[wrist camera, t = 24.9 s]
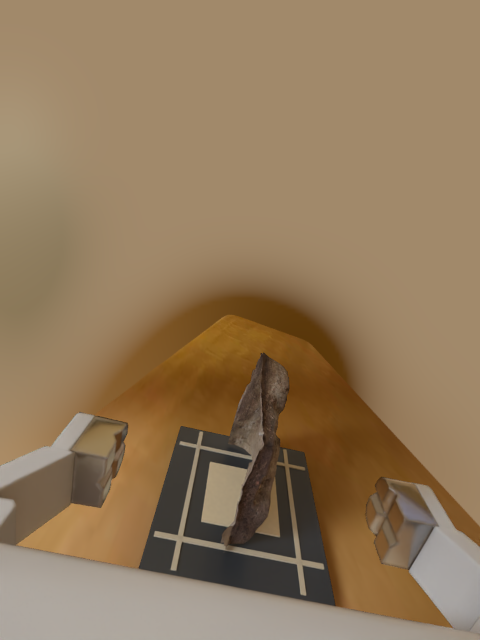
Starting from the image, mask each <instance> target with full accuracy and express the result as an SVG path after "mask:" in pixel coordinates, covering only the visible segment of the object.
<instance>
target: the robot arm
mask: <svg viewBox="0 0 480 640" xmlns="http://www.w3.org/2000/svg"><path fill="white" fill-rule="evenodd" d="M127 431H128V423H126V422H122V421H117V420H113V419H109V418H105V417H100V416H95V415H90V414H86V413H82V412H79V413H77V414H76V415H75V416H74V417H73V419H72V420H71V421H70V423H69V424H68V425H67V426H66V428H65V429H64V430H63V431H62V433H61V434H60V435H59V437H58V438H57V439H56V440H55V442H54V443H53V444H52V445H51V447H48V446H44V447H42V448H39V449H37V450H35V451H33V452H30V453H28V454H26V455H24V456H22V457H19V458H17V459H14V460H12V461H10V462H7V463H5V464H3V465H1V466H0V640H480V547H479V546H478V545H477V544H476V543H474V542H473V541H472V540H471V539H470V538H469V537H467V536H466V535H465V534H464V533H463V532H461V531H457V530H456V528H455V527H454V525H453V524H452V522H451V520H450V519H449V517H448V515H447V514H446V512H445V510H444V509H443V507H442V506H441V504H440V502H439V501H438V499H437V497H436V496H435V494H434V492H433V491H432V489H431V488H430V487H428V486H427V485H422V484H417V483H409V482H404V481H400V480H395V479H390V478H385V477H381V478H380V479H378V481H377V483H376V485H375V488H376V491H377V492H376V493H375V494H373V495H371V496H370V497H369V499H368V502H367V504H366V521H367V524H368V527H369V529H370V530H371V531H372V532H373V533H374V535H375V536H376V538H375V540H374V544H375V547H376V550H377V553H378V556H379V558H380V561H381V564H385V565H389V566H394V567H398V568H403V569H407V570H409V573H410V574H411V575H412V576H413V578H414V579H415V580H416V581H417V583H418V584H419V585H420V586H421V588H422V589H423V590H424V591H425V593H426V594H427V595H428V596H429V598H430V599H431V600H432V602H433V603H434V604H435V605H436V607H437V608H438V609H439V610H440V612H441V613H442V614H443V615H444V617H445V618H446V619H447V620H448V622H449V623H450V624H451V625H452V627H453V628H454V629H453V628H448V627H442V626H437V625H432V624H426V623H421V622H416V621H411V620H405V619H400V618H395V617H390V616H384V615H379V614H374V613H369V612H364V611H358V610H353V609H348V608H343V607H337V606H332V605H327V604H322V603H317V602H311V601H306V600H301V599H295V598H290V597H285V596H280V595H274V594H269V593H264V592H259V591H253V590H248V589H243V588H238V587H232V586H227V585H222V584H217V583H211V582H206V581H201V580H196V579H190V578H185V577H180V576H175V575H169V574H164V573H159V572H154V571H148V570H143V569H138V568H133V567H127V566H122V565H117V564H111V563H106V562H101V561H96V560H90V559H85V558H80V557H75V556H69V555H64V554H59V553H54V552H48V551H43V550H38V549H33V548H27V547H22V546H17V545H16V544H18V543H19V542H20V541H22V540H23V539H24V538H26V537H27V536H29V535H30V534H31V533H33V532H34V531H35V530H37V529H38V528H39V527H41V526H42V525H44V524H45V523H46V522H48V521H49V520H50V519H52V518H53V517H54V516H56V515H57V514H58V513H60V512H61V511H63V510H64V509H65V508H67V507H68V506H69V505H70V503H74V504H80V505H86V506H92V507H98V508H101V507H102V505H103V503H104V501H105V498H106V496H107V494H108V492H109V490H110V486H111V480H112V479H113V478H115V477H116V475H117V473H118V471H119V468H120V466H121V463H122V460H123V456H124V451H125V444H124V442H123V441H124V439H125V437H126V435H127Z"/></svg>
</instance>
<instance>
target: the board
mask: <svg viewBox="0 0 480 640" xmlns="http://www.w3.org/2000/svg"><path fill="white" fill-rule="evenodd" d="M229 437H230V436H226V435H221V434H216V433H212V432H207V431H202V430H197V429H193V428H188V427H183V426H181V427H180V431H179V434H178V437H177V441H176V444H175V448H174V451H173V454H172V458H171V461H170V465H169V468H168V471H167V475H166V478H165V481H164V485H163V488H162V492H161V495H160V498H159V502H158V505H157V508H156V512H155V515H154V519H153V522H152V525H151V529H150V532H149V536H148V539H147V542H146V546H145V549H144V552H143V556H142V559H141V563H140V566H139V569H143V570H148V571H154V572H159V573H164V574H169V575H175V576H180V577H185V578H190V579H196V580H201V581H206V582H211V583H217V584H222V585H227V586H232V587H238V588H243V589H248V590H253V591H259V592H264V593H269V594H274V595H280V596H285V597H290V598H295V599H301V600H306V601H311V602H317V603H322V604H327V605H332V606H335V601H334V596H333V591H332V586H331V581H330V576H329V571H328V566H327V561H326V556H325V552H324V547H323V542H322V537H321V532H320V527H319V522H318V517H317V512H316V507H315V503H314V498H313V493H312V488H311V483H310V478H309V473H308V468H307V463H306V458H305V453H304V452H300V451H296V450H291V449H286V448H282V447H280V450H279V456H278V460H277V466H276V467H277V469H276V474H275V479H274V482H273V486H272V490H271V502H270V509H269V513H268V517H267V518H266V519H265V521H264V522H263V524H262V525H261V526H260V527H259V528H258V529H257V530H256V531H255V533H254V535H253V536H252V537H251V538H250V539H249V540H248V541H247V542H245V543H244V544H229V545H228V546H227V548H226V550H225V547H226V546H224V543H221V539H222V534H223V532H224V531H225V530H226V529H227V528H228V527H229V526H230V525H231V524H232V522H233V521H234V519H235V514H236V508H237V503H238V501H239V499H240V494H241V487H242V484H243V483H244V480H245V476H246V472H247V469H248V466H249V463H250V462H252V456H251V454H249V453H248V452H247V451H246V450H245V449H243V448H242V447H239V446H237V445H232V444H228V441H229ZM223 546H224V547H223ZM223 552H224V553H223Z"/></svg>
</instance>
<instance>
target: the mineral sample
mask: <svg viewBox="0 0 480 640" xmlns="http://www.w3.org/2000/svg"><path fill="white" fill-rule="evenodd" d="M288 392H289V377H288V373H287V371H286V369H285V368H284V367H283V366H282V365H280V364H279V363H278V362H276V361H274V360H273V359H271V358H269V357H268V356H267V355H266V354H265V353H264V352H263V354H262V353H261V356H260V359H259V360H258V362H257V365H256V368H255V370H254V369H253V372H252V377H251V382H250V384H248V385H247V387H246V390H245V392H244V394H243V395H242V399H240V403H239V405H238V409H237V412H236V416H235V419H234V423H233V426H232V430H231V433H230V437H229V441H228V444H232V445H237V446H239V447H242V448H243V449H245V450H246V451H247V452H248V453H249V454H251V456H252V462H250V463H249V466H248V469H247V472H246V476H245V480H244V483H243V484H242V487H241V494H240V499H239V501H238V503H237V508H236V514H235V519H234V521H233V522H232V524H231V525H230V526H229V527H228V528H227V529H226V530H225V531H224V532H223V534H222V539H221V543H224V546H226V547H225V550H226V548H227V546H228V545H229V544H244V543H245V542H247V541H248V540H249V539H250V538H251V537H252V536H253V535H254V533H255V531H256V530H257V529H258V528H259V527H260V526H261V525H262V524H263V522H264V521H265V519H266V518H267V517H268V513H269V509H270V502H271V490H272V486H273V482H274V479H275V474H276V469H277V467H276V466H277V460H278V456H279V450H280V439H279V438H278V437H277V436H276V430H277V427H278V416H279V414H280V413H281V412H282V411H283V409H284V407H285V403H286V401H287V394H288ZM224 546H223V547H224ZM223 553H224V552H223Z"/></svg>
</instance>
